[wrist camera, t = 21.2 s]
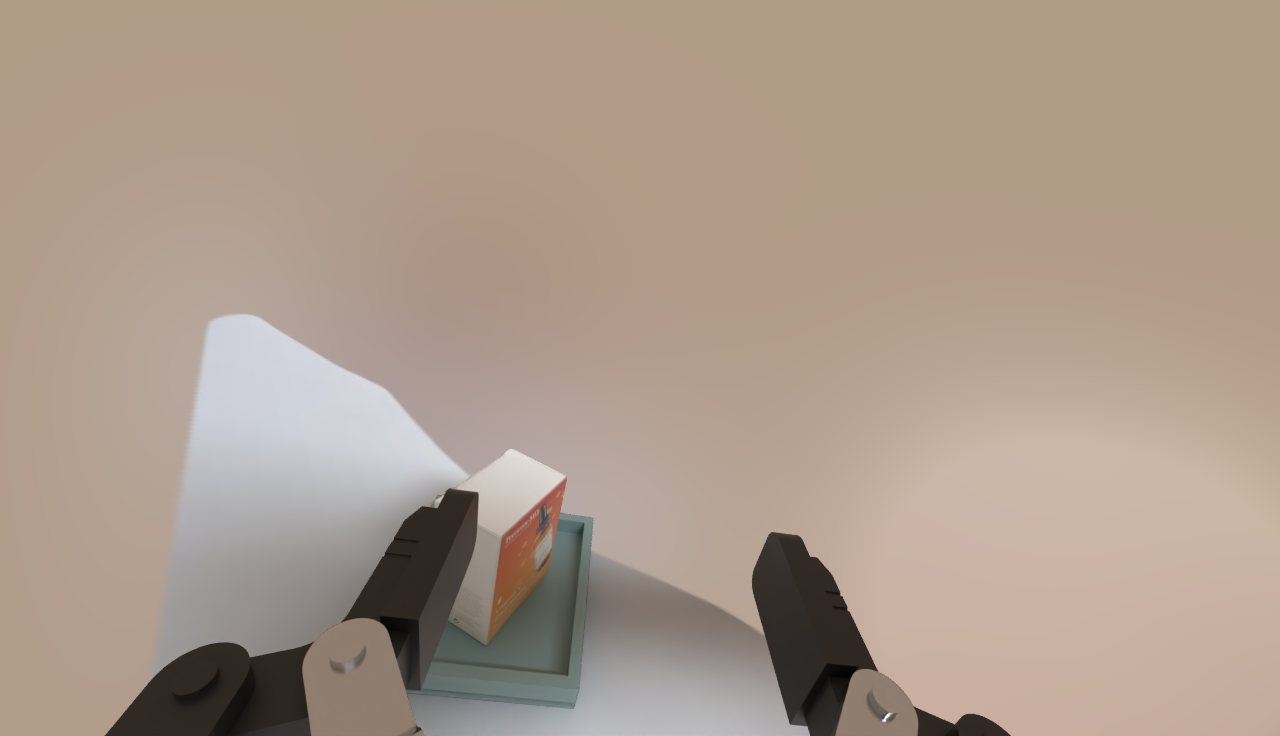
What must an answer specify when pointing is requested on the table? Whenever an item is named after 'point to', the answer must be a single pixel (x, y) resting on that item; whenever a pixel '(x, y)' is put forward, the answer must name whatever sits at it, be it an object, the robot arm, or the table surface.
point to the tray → (526, 637)
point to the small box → (507, 540)
